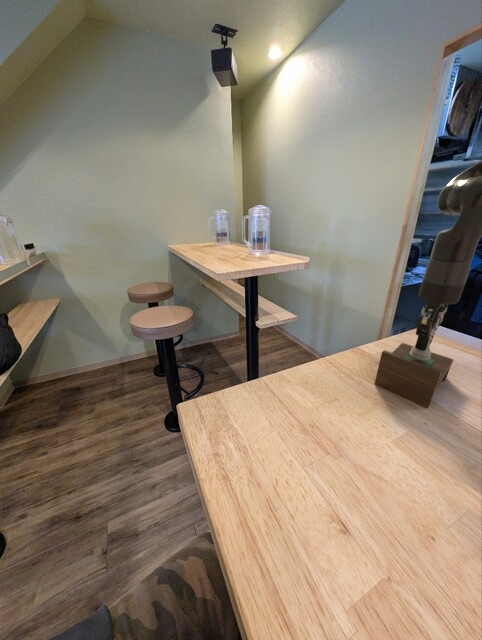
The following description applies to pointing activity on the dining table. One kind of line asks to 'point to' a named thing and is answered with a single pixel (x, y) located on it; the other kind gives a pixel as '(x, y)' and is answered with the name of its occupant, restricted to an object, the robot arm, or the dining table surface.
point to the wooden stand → (412, 374)
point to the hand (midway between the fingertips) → (422, 345)
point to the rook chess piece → (420, 353)
